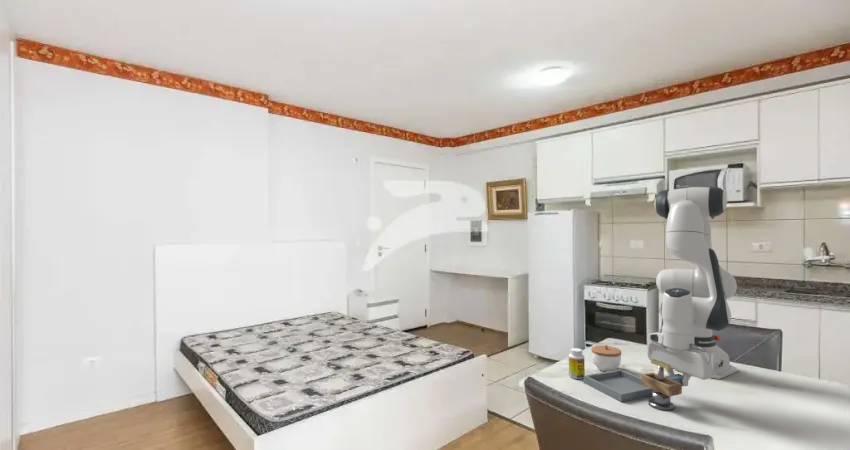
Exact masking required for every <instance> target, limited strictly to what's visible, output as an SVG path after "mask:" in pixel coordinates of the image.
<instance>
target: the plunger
mask: <svg viewBox="0 0 850 450" xmlns="http://www.w3.org/2000/svg"><path fill="white" fill-rule="evenodd" d="M650 363H651V364H652V365H655V366H657V374H658V381H661V382H663V383H664V377H665V373H664V372H665V370H666V369H671V365H669V364H666V363H664V362H661V361H658V360H655V359H651V360H650ZM648 406H650V407H651V408H653V409H655V410H659V411H662V412H663V411H665V412H669V411H674V410H675V404H674V403H673V402H672V401H671V396H670V397H669V396H667V395H665V394H662V393H660V392H658V391H656V390H653V391H652V396H651V398H649V399H648Z"/></svg>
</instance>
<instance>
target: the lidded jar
mask: <svg viewBox="0 0 850 450" xmlns="http://www.w3.org/2000/svg"><path fill="white" fill-rule="evenodd" d="M590 349H591V358H592V362H593V364H594V365H595V367H596V368H597V369H598V370H599V371H601V372H605V371H606V372H608V371H614V370H618V368H619V367H620V365H621V362H622V361H621V360H622V350H621V349H619V348H617V347H614V346H610V345H608V344H604V345H595V346H592V347H591V348H590Z"/></svg>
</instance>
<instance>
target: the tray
mask: <svg viewBox="0 0 850 450" xmlns="http://www.w3.org/2000/svg"><path fill="white" fill-rule="evenodd" d="M583 384H585V385H588V387H591V388H593V389H595V390H597V391H599V392H601V393H603V394H605V395H606V396H609V397H611V398H613V399H614V400H616V401H618V402H620V403H624V402H628V401H634V400H638V399H643V398H647V397H652V391H653V389H651V388H649V387H647V386H645V385H642V384H641V376H640V377H639V376H637V375H635V374H632V373H630V372H628V371H626V370H623V369H615V370H614V371H608V372H605V371H602V372H598V373H593V374H586V375H585V376H584V378H583Z"/></svg>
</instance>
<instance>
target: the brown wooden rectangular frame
mask: <svg viewBox="0 0 850 450" xmlns="http://www.w3.org/2000/svg"><path fill="white" fill-rule="evenodd" d="M674 374H675V375H670V376H669V375H666V376H665V375H664V383H663V382H661V381H658V373H656V372H648V373H645V374H641V375H640V378H641V384H642V385H645V386H647V387H649V388H651V389H653V390H656V391H658V392H660V393H662V394H665V395H667V396H669V397H670V398H671V397H673V396H679V395H681V394H683V387H684V386H683V385H682V384H681V383H680V379H683V378H684V376H683V374H681V373H674Z"/></svg>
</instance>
